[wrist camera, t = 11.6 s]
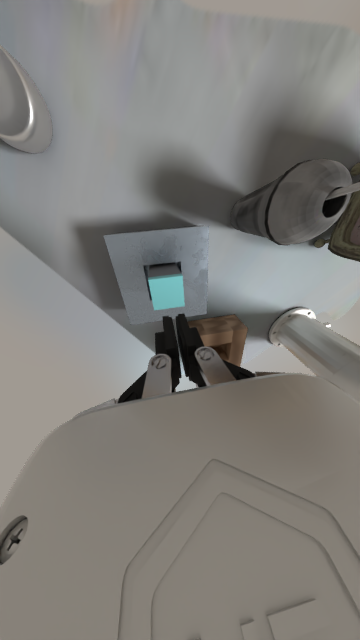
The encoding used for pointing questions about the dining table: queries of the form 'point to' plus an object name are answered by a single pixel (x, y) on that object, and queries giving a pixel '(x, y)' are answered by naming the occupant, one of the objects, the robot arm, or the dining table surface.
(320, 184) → the beverage cup
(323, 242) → the tabletop clock
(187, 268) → the socket block
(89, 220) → the dining table surface
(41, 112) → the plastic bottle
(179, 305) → the plug
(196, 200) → the dining table surface
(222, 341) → the wooden square hole block
